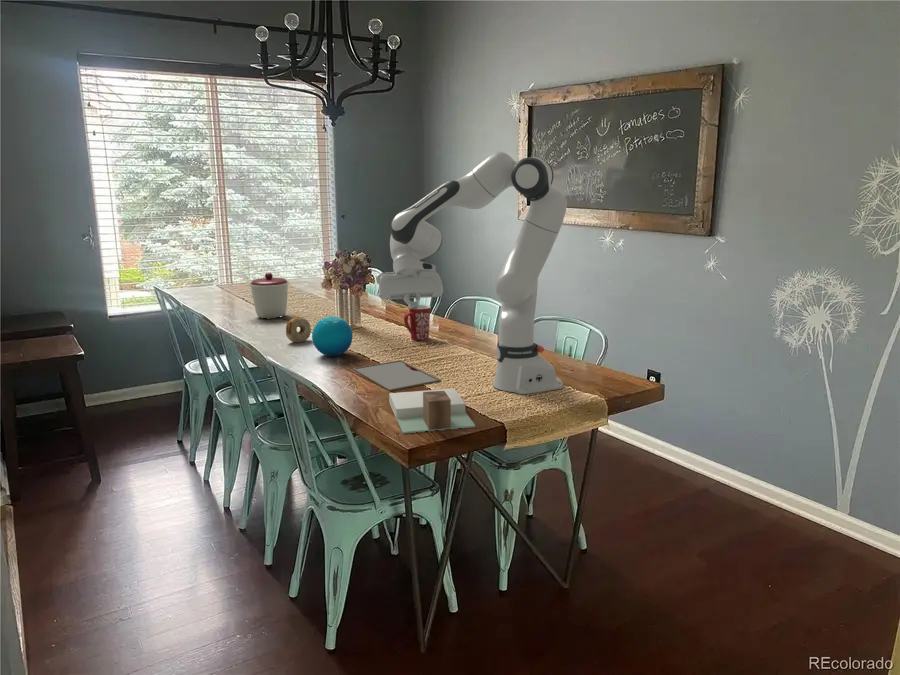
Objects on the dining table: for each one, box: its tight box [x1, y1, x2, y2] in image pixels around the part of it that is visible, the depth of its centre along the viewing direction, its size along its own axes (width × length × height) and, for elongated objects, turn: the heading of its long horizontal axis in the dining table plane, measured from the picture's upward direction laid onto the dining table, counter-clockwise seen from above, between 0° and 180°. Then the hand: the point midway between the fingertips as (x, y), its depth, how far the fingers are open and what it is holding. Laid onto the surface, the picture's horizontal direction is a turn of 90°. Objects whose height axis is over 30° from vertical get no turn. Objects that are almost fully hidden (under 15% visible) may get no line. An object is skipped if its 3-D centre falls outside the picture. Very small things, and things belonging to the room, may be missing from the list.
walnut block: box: [423, 391, 451, 430], centre depth 185 cm, size 6×8×8 cm
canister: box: [248, 272, 290, 319], centre depth 318 cm, size 18×18×21 cm
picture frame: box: [351, 359, 442, 392], centre depth 231 cm, size 19×1×28 cm
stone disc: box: [285, 316, 312, 343], centre depth 274 cm, size 10×4×10 cm, turn 131°
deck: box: [388, 388, 466, 420], centre depth 199 cm, size 20×14×3 cm
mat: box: [396, 412, 476, 435], centre depth 187 cm, size 20×10×1 cm, turn 103°
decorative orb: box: [311, 315, 353, 357], centre depth 253 cm, size 15×15×15 cm
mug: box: [403, 304, 432, 341], centre depth 277 cm, size 13×9×14 cm
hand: (414, 307), depth 210 cm, fingers closed
